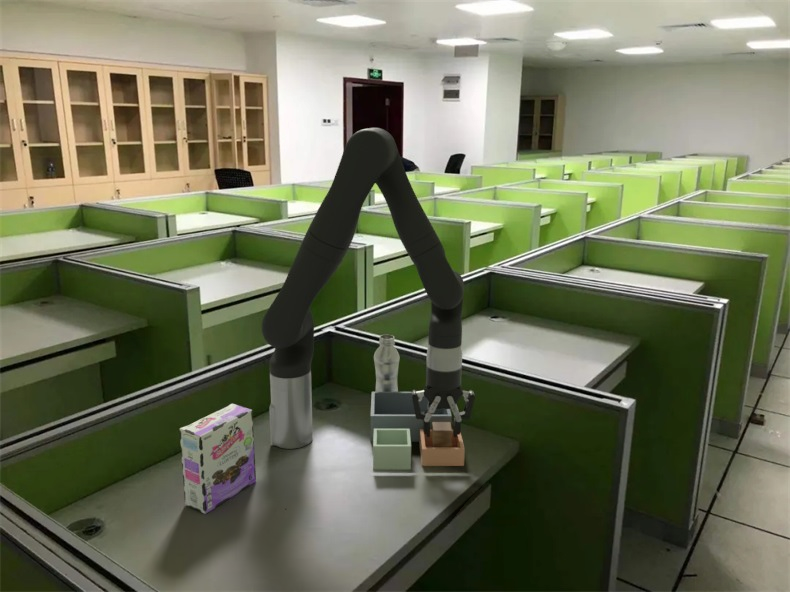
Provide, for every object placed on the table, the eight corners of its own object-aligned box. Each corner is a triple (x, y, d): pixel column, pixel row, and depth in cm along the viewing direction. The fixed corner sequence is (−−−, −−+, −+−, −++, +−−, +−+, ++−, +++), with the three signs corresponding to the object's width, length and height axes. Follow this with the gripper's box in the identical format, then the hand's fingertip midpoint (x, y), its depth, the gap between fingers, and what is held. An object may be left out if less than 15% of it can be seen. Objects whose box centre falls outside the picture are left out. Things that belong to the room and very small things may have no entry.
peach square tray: (421, 468, 134) (422, 449, 133) (419, 447, 143) (419, 429, 142) (463, 468, 135) (464, 449, 133) (458, 447, 143) (459, 429, 142)
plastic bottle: (396, 416, 158) (397, 342, 153) (370, 414, 159) (371, 340, 154) (401, 406, 164) (402, 333, 159) (376, 403, 165) (376, 331, 160)
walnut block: (432, 459, 137) (433, 430, 135) (431, 450, 141) (432, 421, 139) (450, 459, 137) (451, 430, 135) (449, 450, 141) (450, 422, 139)
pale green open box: (373, 471, 133) (373, 446, 131) (373, 452, 141) (373, 428, 139) (410, 471, 133) (411, 446, 131) (409, 452, 141) (409, 428, 139)
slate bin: (370, 443, 145) (370, 415, 143) (371, 417, 158) (371, 391, 156) (450, 443, 145) (451, 416, 143) (445, 417, 158) (446, 391, 156)
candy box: (205, 515, 117) (199, 436, 113) (184, 505, 120) (177, 427, 116) (257, 481, 129) (253, 408, 124) (236, 473, 132) (232, 401, 127)
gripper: (411, 370, 129) (409, 443, 134) (480, 370, 130) (476, 443, 134) (409, 357, 137) (408, 427, 141) (475, 357, 137) (471, 427, 141)
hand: (441, 435), depth 137 cm, fingers open, 5 cm apart
